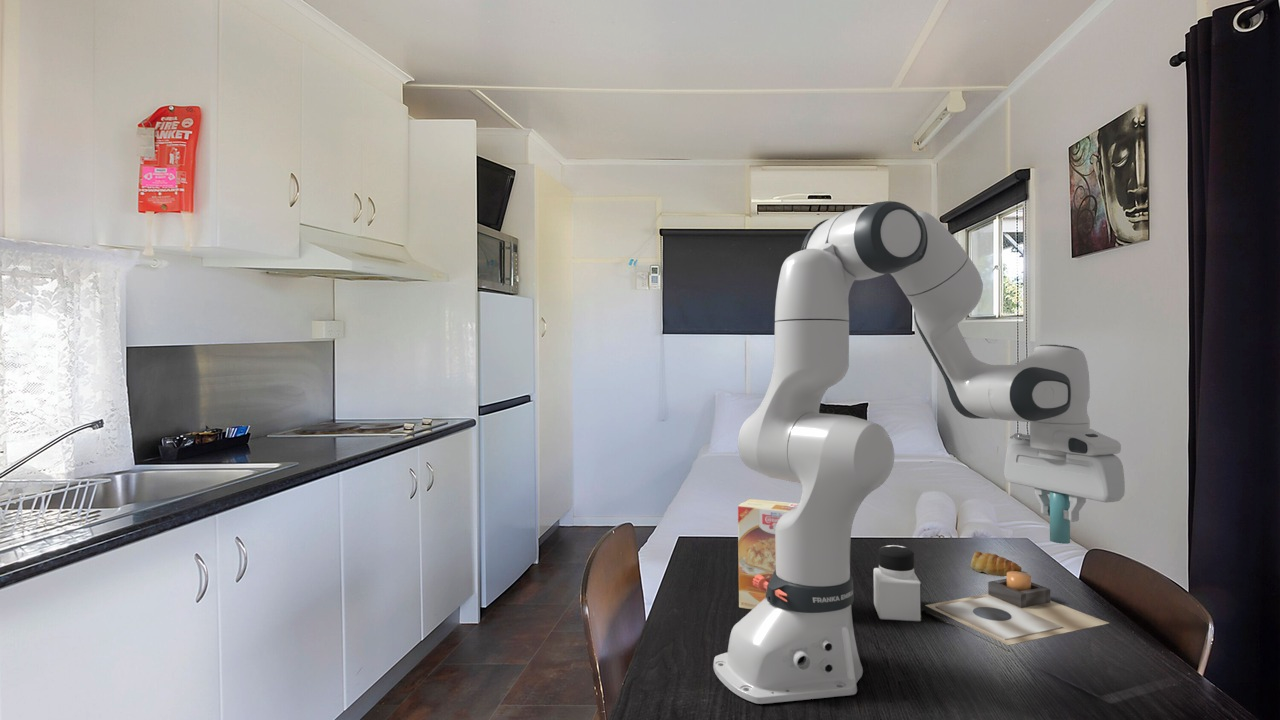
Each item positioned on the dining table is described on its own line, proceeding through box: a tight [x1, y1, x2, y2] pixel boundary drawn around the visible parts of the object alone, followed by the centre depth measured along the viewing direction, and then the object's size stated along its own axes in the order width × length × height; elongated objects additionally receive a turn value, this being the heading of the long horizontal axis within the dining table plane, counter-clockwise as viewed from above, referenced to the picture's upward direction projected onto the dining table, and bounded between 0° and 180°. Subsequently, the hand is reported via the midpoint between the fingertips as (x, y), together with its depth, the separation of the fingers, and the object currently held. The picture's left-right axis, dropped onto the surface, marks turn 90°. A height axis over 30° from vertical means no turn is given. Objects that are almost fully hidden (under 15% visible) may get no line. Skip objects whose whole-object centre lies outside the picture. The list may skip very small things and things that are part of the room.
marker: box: [1049, 491, 1071, 545], centre depth 116 cm, size 3×3×11 cm
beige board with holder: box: [924, 578, 1110, 652], centre depth 119 cm, size 23×18×4 cm
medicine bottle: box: [873, 544, 922, 622], centre depth 122 cm, size 7×7×12 cm
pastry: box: [970, 550, 1023, 577], centre depth 144 cm, size 9×7×4 cm
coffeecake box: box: [737, 498, 799, 610], centre depth 126 cm, size 15×7×20 cm, turn 62°
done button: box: [1006, 571, 1032, 591], centre depth 126 cm, size 4×4×3 cm
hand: (1059, 517), depth 116 cm, fingers closed on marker, 3 cm apart
